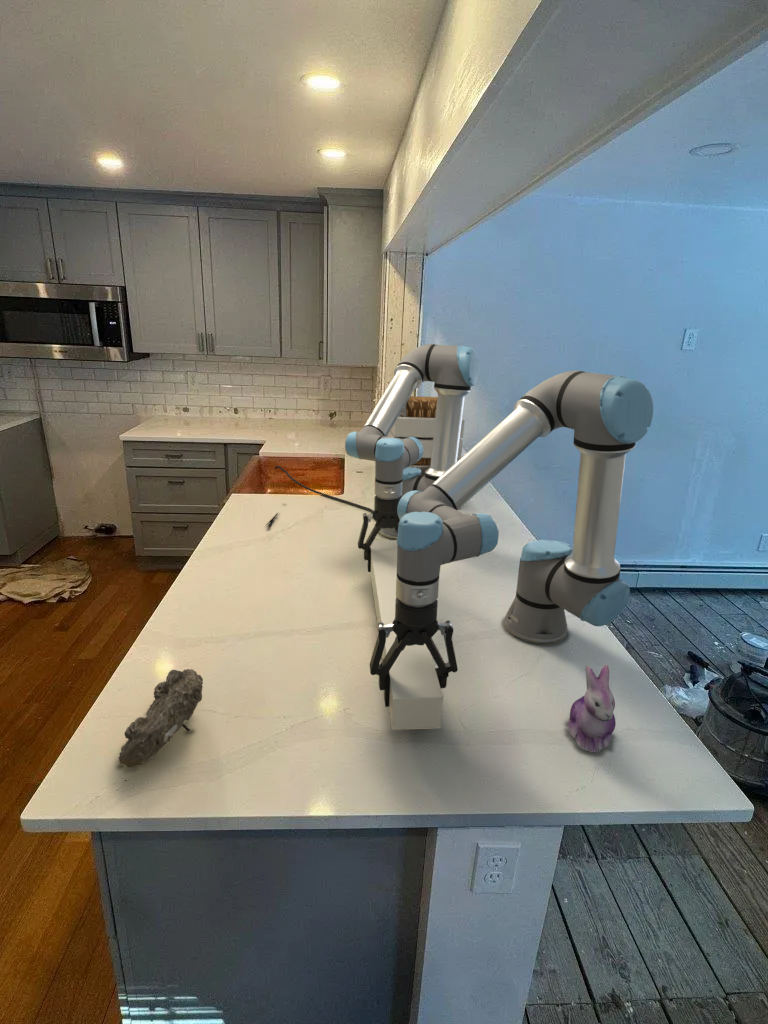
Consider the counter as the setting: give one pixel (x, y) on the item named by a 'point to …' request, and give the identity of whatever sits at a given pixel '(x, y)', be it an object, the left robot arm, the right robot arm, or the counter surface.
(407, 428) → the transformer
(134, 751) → the fossil
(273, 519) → the feather
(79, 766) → the counter surface
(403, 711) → the wide beam
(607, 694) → the figurine
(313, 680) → the counter surface
